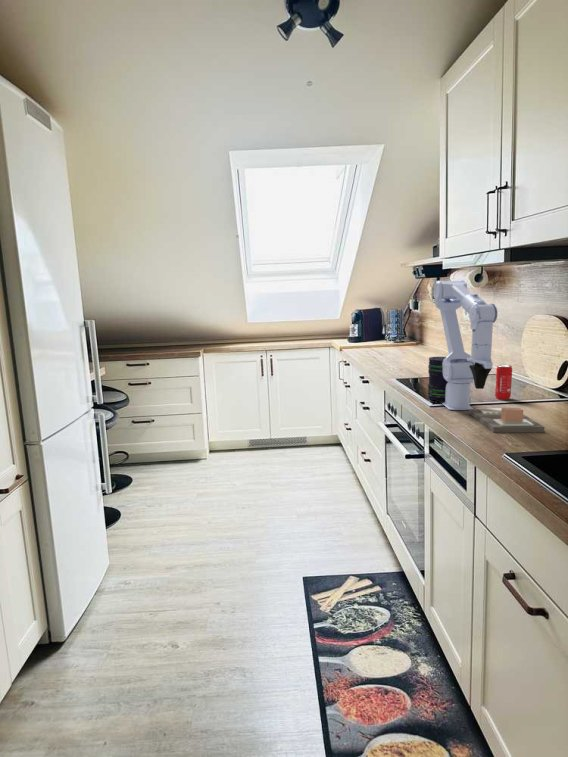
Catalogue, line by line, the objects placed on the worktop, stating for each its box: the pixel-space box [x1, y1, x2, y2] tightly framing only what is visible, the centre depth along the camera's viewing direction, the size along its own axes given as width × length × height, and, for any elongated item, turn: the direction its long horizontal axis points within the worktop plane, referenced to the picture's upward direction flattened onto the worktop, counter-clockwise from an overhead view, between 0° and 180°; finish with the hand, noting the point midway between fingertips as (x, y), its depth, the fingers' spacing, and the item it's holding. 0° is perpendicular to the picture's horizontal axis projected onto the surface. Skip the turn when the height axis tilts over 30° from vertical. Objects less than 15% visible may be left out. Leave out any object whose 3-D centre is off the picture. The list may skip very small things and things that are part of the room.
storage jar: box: [427, 356, 448, 403], centre depth 186 cm, size 10×10×15 cm
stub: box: [493, 407, 534, 426], centre depth 147 cm, size 6×9×4 cm, turn 88°
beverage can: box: [494, 364, 513, 401], centre depth 186 cm, size 5×5×12 cm
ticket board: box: [468, 407, 545, 433], centre depth 154 cm, size 22×14×2 cm, turn 178°
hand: (479, 388), depth 158 cm, fingers closed
